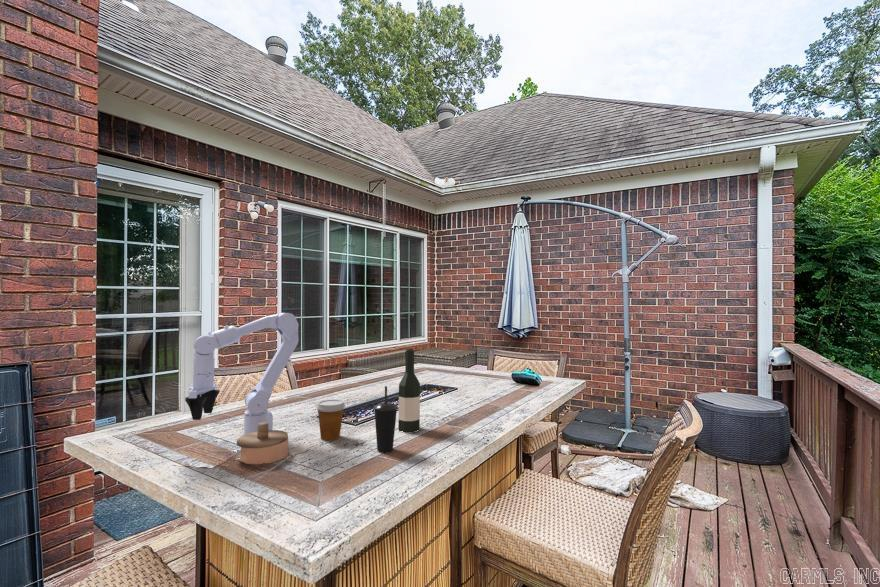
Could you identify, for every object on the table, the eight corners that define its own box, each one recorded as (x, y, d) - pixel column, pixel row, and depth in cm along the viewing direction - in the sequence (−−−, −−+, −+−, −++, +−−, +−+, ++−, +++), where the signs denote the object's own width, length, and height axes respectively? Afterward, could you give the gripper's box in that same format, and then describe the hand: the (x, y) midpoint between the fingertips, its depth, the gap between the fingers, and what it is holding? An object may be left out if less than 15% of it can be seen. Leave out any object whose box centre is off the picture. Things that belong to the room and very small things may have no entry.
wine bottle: (394, 427, 148) (395, 347, 149) (415, 425, 152) (416, 346, 153) (402, 434, 141) (403, 349, 142) (423, 431, 144) (424, 348, 145)
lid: (254, 431, 126) (254, 416, 126) (296, 433, 125) (296, 418, 125) (225, 447, 112) (226, 429, 112) (272, 449, 111) (272, 432, 111)
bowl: (257, 448, 125) (258, 432, 126) (295, 450, 124) (295, 434, 124) (231, 463, 113) (231, 446, 113) (273, 466, 111) (273, 448, 111)
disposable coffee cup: (315, 443, 131) (316, 406, 131) (316, 434, 140) (317, 400, 140) (344, 440, 133) (345, 404, 134) (343, 432, 142) (344, 398, 143)
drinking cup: (392, 455, 120) (393, 389, 121) (369, 453, 122) (370, 388, 122) (400, 446, 128) (401, 384, 128) (377, 445, 129) (378, 383, 130)
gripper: (201, 369, 133) (199, 410, 132) (178, 377, 119) (176, 423, 118) (223, 369, 134) (222, 410, 133) (203, 377, 120) (202, 422, 119)
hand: (202, 416), depth 126 cm, fingers open, 7 cm apart
